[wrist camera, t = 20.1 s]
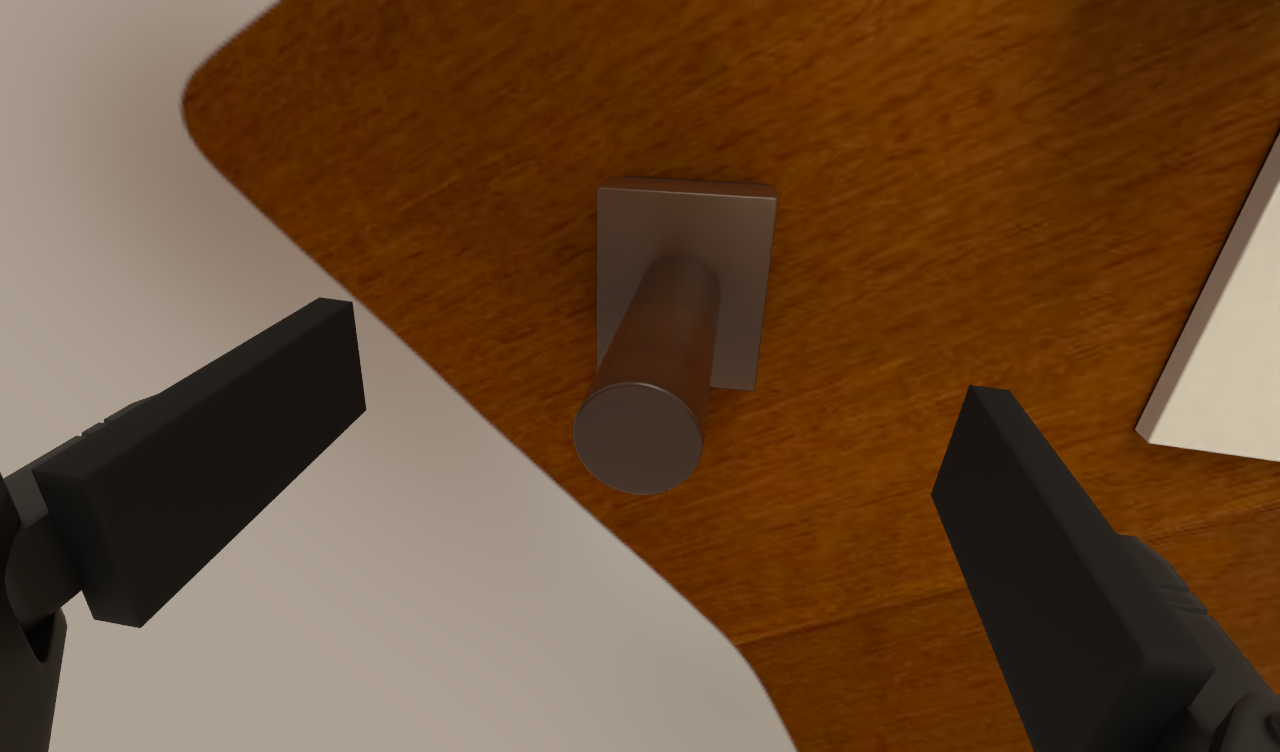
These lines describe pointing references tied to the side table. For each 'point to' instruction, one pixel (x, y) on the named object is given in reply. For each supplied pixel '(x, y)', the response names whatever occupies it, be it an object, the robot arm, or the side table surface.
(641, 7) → the side table surface
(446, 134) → the side table surface
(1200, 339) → the tile
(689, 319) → the stamp
